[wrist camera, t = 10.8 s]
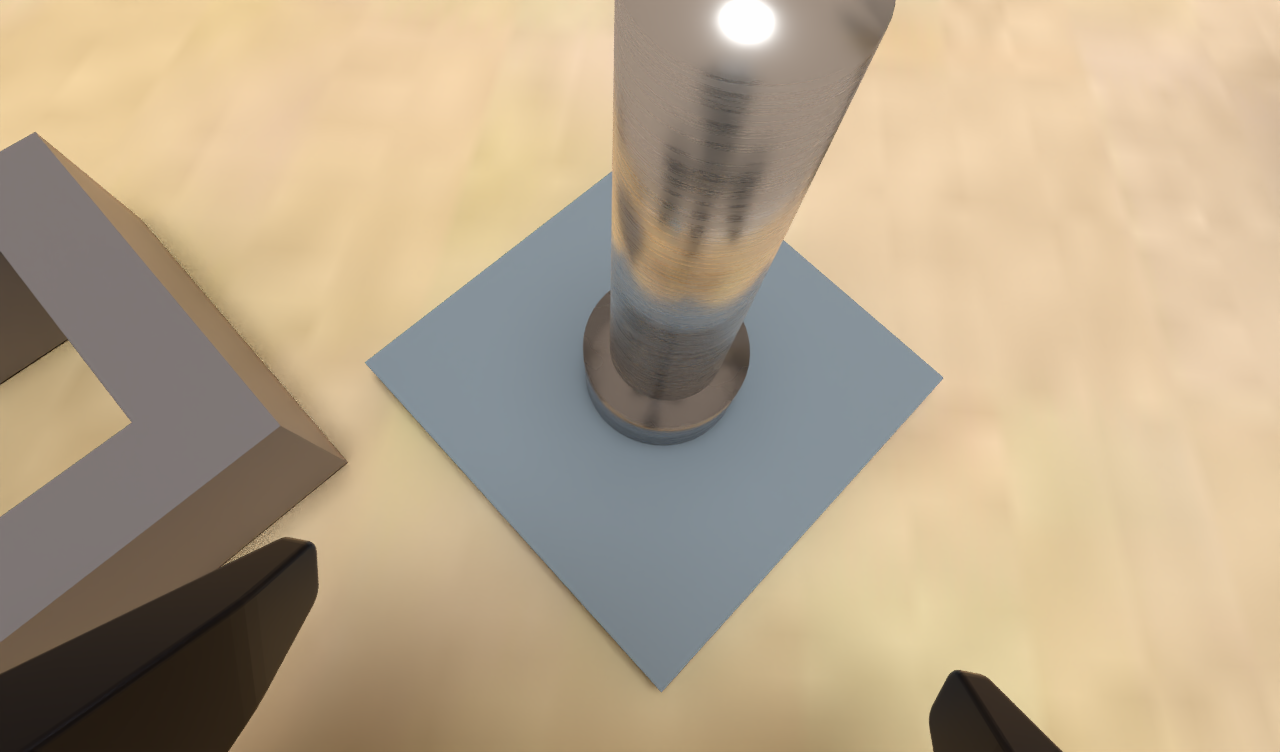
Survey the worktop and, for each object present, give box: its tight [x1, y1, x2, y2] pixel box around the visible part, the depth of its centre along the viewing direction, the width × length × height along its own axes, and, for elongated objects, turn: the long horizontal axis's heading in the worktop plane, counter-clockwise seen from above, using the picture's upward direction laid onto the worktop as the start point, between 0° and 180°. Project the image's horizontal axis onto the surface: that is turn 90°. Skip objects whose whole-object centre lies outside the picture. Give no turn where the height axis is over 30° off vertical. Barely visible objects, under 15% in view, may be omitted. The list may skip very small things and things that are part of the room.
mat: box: [365, 172, 943, 692], centre depth 19 cm, size 12×12×1 cm
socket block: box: [0, 132, 347, 673], centre depth 16 cm, size 11×11×4 cm
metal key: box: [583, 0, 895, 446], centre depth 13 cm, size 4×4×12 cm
